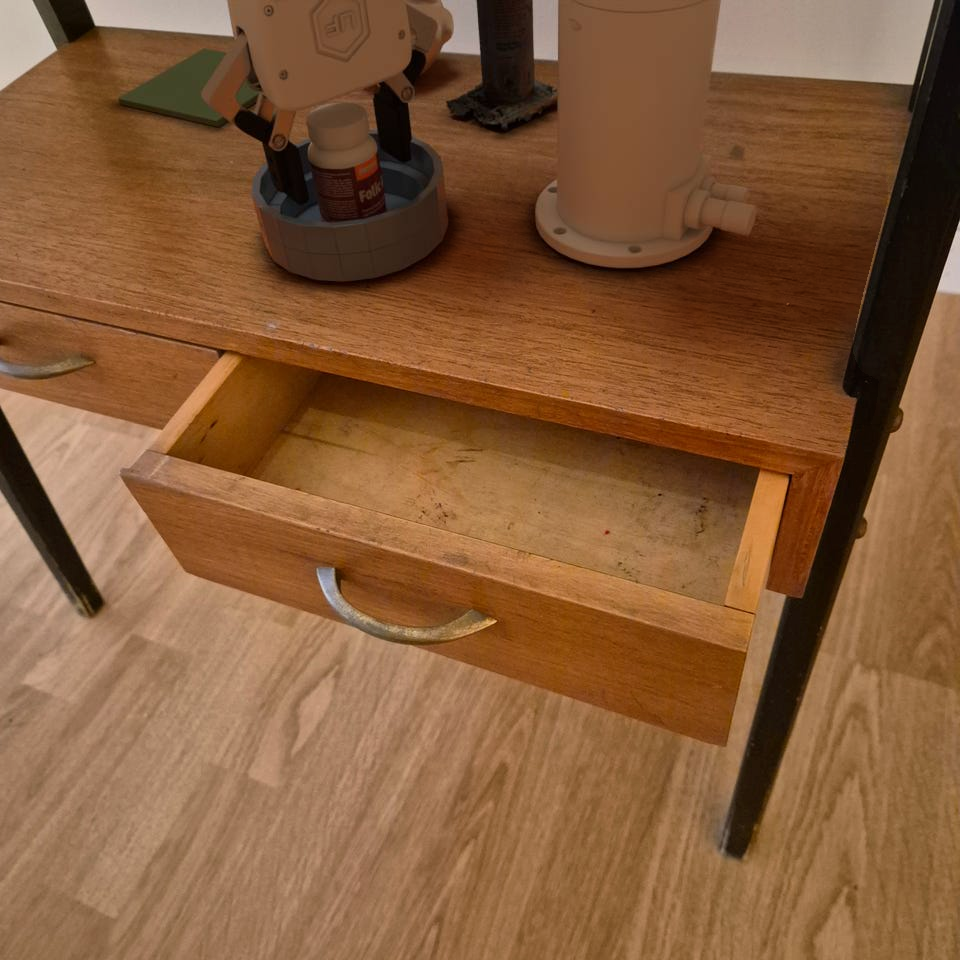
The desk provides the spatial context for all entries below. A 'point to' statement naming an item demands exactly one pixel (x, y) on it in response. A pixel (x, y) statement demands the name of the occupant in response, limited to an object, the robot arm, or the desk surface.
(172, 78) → the mat
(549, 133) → the desk surface
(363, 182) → the pill bottle
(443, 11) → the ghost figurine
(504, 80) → the post on square base
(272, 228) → the bowl
